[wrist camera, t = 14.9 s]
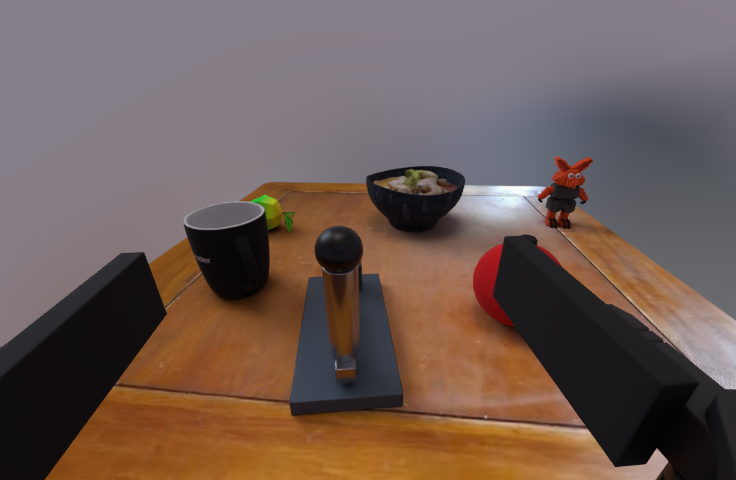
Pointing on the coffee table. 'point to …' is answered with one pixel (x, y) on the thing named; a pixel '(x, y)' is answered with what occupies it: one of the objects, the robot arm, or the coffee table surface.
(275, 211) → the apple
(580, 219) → the coffee table surface
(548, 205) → the toy animal
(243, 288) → the mug
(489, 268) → the ornament
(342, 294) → the ball-knob lever
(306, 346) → the grey lever base
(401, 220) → the bowl
